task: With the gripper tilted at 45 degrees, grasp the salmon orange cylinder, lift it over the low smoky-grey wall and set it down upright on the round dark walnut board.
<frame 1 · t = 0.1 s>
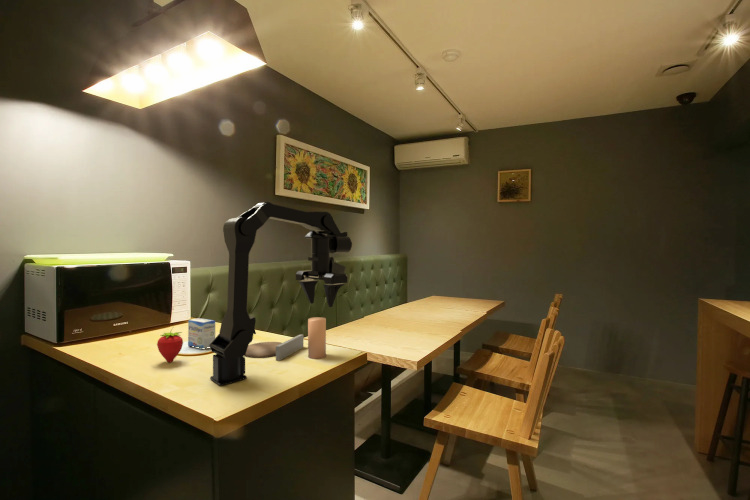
hand: (320, 305, 106), 15 cm above the table, tool pointing down, fingers open, 9 cm apart
salmon orange cylinder: (317, 356, 104), on the table
strawberry: (170, 363, 98), on the table
grey wall: (290, 353, 106), on the table
walnut board: (265, 350, 109), on the table
medicine box: (201, 347, 114), on the table
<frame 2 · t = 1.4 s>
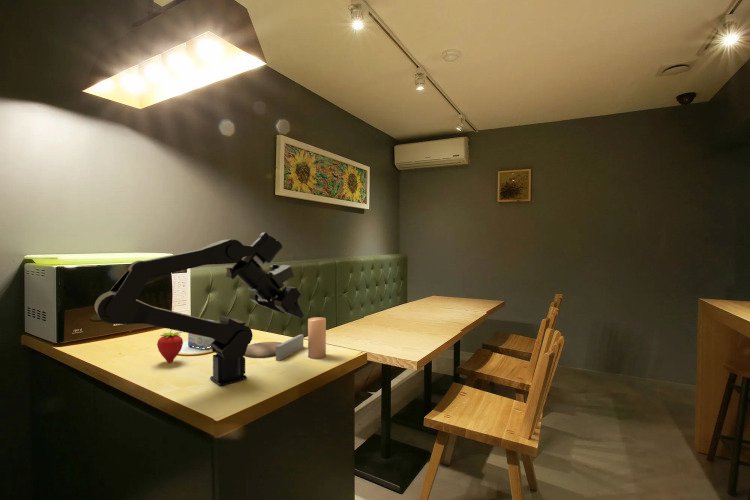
hand: (293, 314, 98), 13 cm above the table, tool tilted 45°, fingers open, 9 cm apart
nothing on the table moved.
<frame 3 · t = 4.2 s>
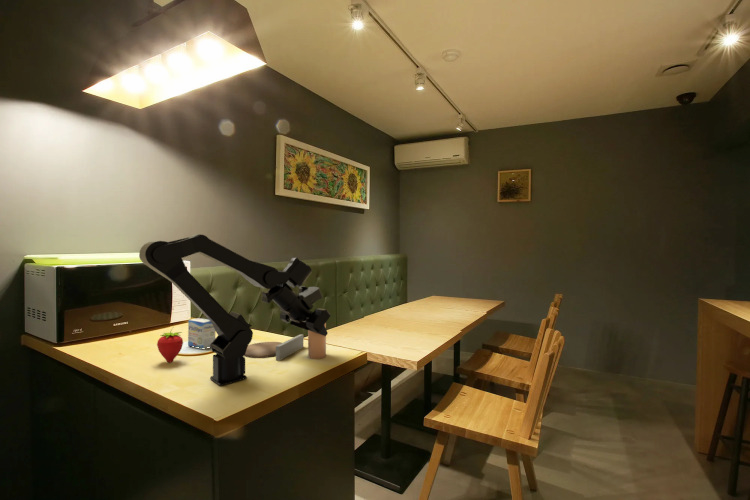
hand: (320, 332, 105), 7 cm above the table, tool tilted 45°, fingers closed on salmon orange cylinder, 5 cm apart
salmon orange cylinder: (317, 355, 104), on the table, touching gripper
everything else where it was.
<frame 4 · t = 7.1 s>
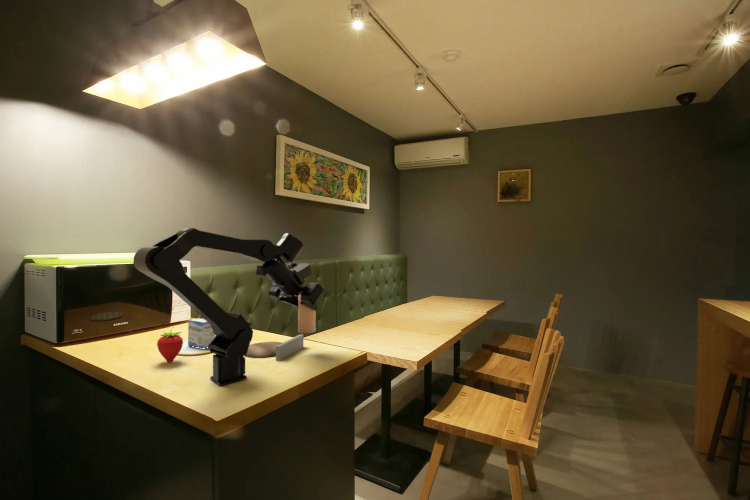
hand: (310, 308, 107), 13 cm above the table, tool tilted 45°, fingers closed on salmon orange cylinder, 5 cm apart
salmon orange cylinder: (306, 331, 106), point 7 cm above the table, touching gripper
everything else where it was.
when the fingers open (9 cm above the table, at t = 10.2 s): salmon orange cylinder drops 1 cm, resting on walnut board.
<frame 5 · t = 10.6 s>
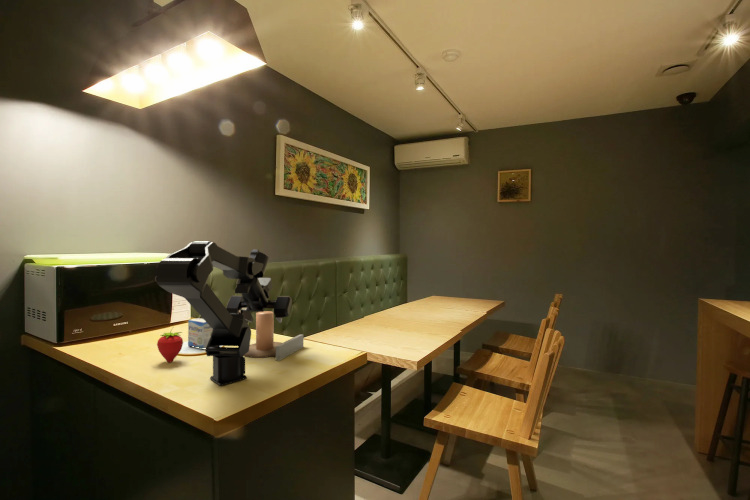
hand: (266, 321, 110), 9 cm above the table, tool tilted 45°, fingers open, 9 cm apart
salmon orange cylinder: (264, 347, 109), point 1 cm above the table, touching walnut board
everything else where it was.
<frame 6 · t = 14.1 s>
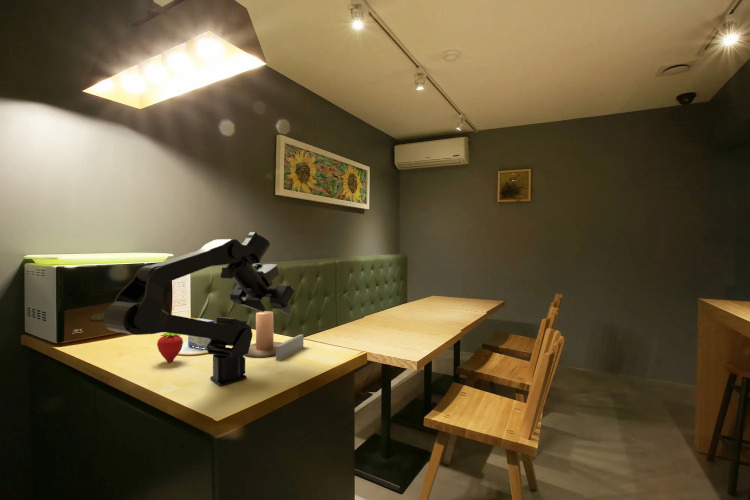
hand: (276, 311, 101), 14 cm above the table, tool tilted 45°, fingers open, 9 cm apart
nothing on the table moved.
at the end: salmon orange cylinder inside the target area on the walnut board (0.1 cm from its centre), point 0.8 cm above the walnut board's base; salmon orange cylinder tilted 0°; the gripper is holding nothing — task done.
